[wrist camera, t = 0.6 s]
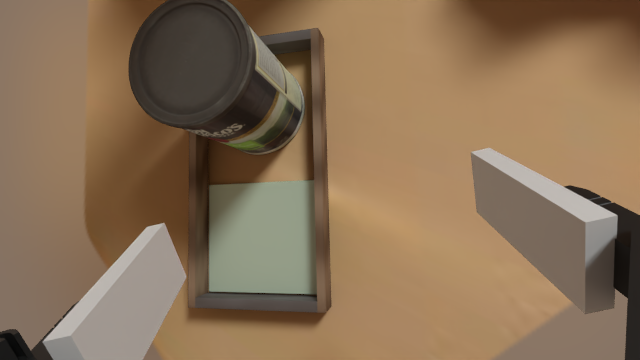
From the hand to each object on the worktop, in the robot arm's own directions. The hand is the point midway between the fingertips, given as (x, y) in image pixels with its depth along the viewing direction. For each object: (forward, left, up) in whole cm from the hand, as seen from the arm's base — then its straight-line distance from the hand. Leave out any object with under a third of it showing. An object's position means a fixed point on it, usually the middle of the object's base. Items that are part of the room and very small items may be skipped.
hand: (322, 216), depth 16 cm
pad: (+2, -12, -22) cm, 25 cm away
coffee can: (-12, -12, -23) cm, 28 cm away
